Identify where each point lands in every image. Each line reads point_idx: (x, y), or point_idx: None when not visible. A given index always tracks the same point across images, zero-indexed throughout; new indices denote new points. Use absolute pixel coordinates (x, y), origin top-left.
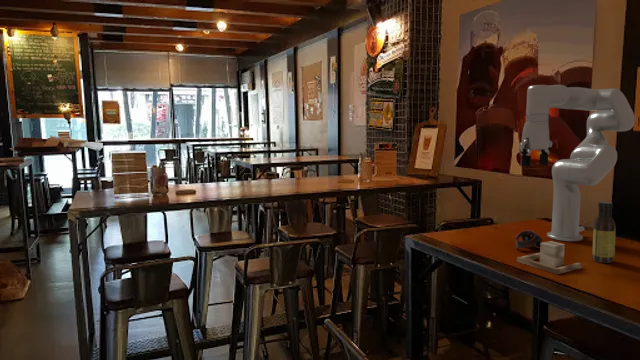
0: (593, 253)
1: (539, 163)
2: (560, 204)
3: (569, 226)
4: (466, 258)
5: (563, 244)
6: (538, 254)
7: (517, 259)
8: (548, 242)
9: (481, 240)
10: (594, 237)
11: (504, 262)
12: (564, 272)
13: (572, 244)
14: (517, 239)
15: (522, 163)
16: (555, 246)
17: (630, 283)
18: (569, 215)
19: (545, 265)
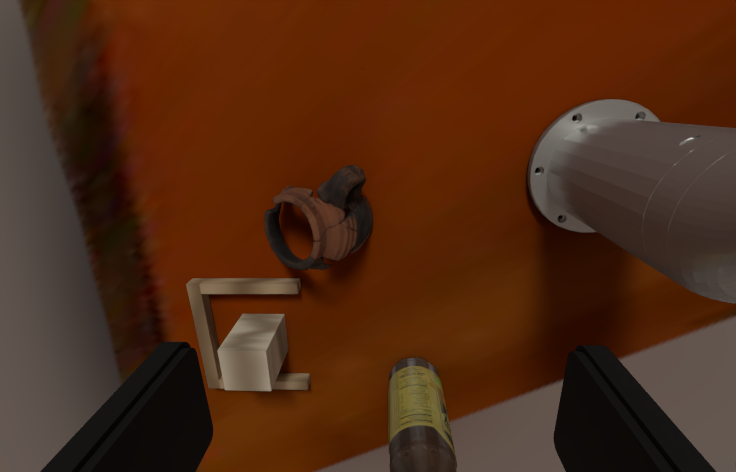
0: (392, 378)
1: (574, 358)
2: (626, 218)
3: (584, 222)
4: (68, 185)
5: (267, 389)
6: (268, 293)
7: (189, 283)
8: (244, 358)
9: (257, 25)
10: (392, 416)
11: (156, 265)
12: None
13: (516, 241)
14: (268, 211)
15: (147, 369)
16: (229, 389)
17: (311, 467)
18: (609, 238)
19: (207, 359)
